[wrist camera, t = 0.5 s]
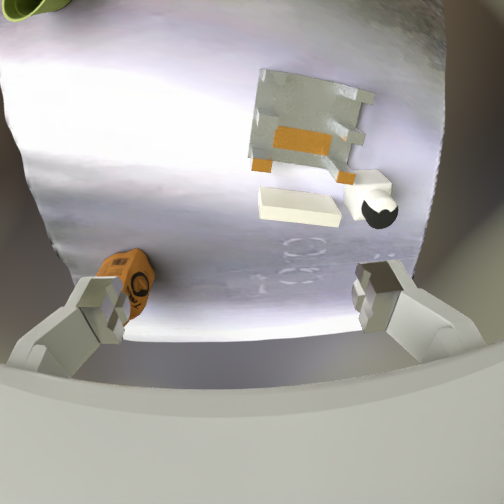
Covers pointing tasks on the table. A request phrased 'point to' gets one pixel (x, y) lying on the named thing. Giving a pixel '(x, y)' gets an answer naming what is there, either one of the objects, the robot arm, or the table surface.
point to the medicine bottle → (371, 199)
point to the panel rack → (305, 123)
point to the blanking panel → (298, 207)
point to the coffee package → (131, 277)
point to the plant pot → (29, 8)
